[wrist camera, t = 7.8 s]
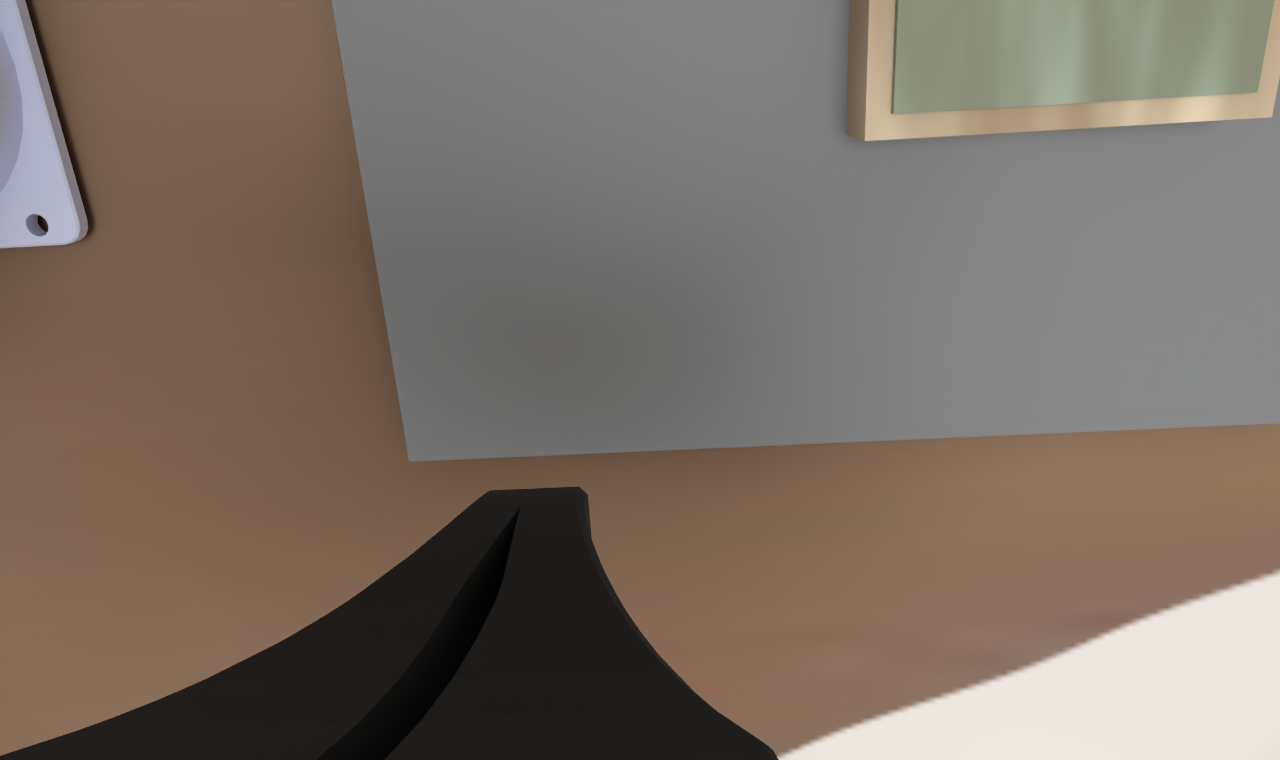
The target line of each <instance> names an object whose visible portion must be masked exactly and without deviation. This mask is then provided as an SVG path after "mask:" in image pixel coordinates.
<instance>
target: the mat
mask: <svg viewBox="0 0 1280 760" xmlns="http://www.w3.org/2000/svg"><path fill="white" fill-rule="evenodd" d="M331 1H332V7H333V13H334V19H335V25H336V31H337V37H338V43H339V48H340V54H341V60H342V66H343V72H344V78H345V84H346V90H347V96H348V102H349V108H350V114H351V120H352V126H353V132H354V137H355V143H356V149H357V155H358V161H359V167H360V173H361V179H362V185H363V191H364V197H365V203H366V209H367V215H368V221H369V226H370V232H371V238H372V244H373V250H374V256H375V262H376V268H377V274H378V280H379V286H380V292H381V298H382V304H383V310H384V315H385V321H386V327H387V333H388V339H389V345H390V351H391V357H392V363H393V369H394V375H395V381H396V387H397V393H398V399H399V404H400V410H401V416H402V422H403V428H404V434H405V440H406V446H407V452H408V458H409V462H416V461H438V460H461V459H483V458H506V457H529V456H551V455H574V454H596V453H619V452H641V451H664V450H687V449H709V448H732V447H754V446H777V445H799V444H822V443H845V442H867V441H890V440H912V439H935V438H957V437H980V436H1003V435H1025V434H1048V433H1070V432H1093V431H1115V430H1138V429H1161V428H1183V427H1206V426H1228V425H1251V424H1273V423H1280V78H1279V83H1278V88H1277V93H1276V99H1275V104H1274V109H1273V114H1272V117H1269V118H1252V119H1234V120H1217V121H1200V122H1183V123H1166V124H1149V125H1132V126H1115V127H1098V128H1080V129H1063V130H1046V131H1029V132H1012V133H995V134H978V135H961V136H944V137H926V138H909V139H892V140H875V141H863V140H860V139H857V138H854V137H851V136H848V135H846V125H847V84H848V43H849V3H850V0H331Z"/></svg>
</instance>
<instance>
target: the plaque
mask: <svg viewBox="0 0 1280 760" xmlns="http://www.w3.org/2000/svg"><path fill="white" fill-rule="evenodd" d="M1279 78H1280V0H850V3H849V43H848V84H847V125H846V135H848V136H851V137H854V138H857V139H860V140H863V141H875V140H892V139H909V138H926V137H944V136H961V135H978V134H995V133H1012V132H1029V131H1046V130H1063V129H1080V128H1098V127H1115V126H1132V125H1149V124H1166V123H1183V122H1200V121H1217V120H1234V119H1252V118H1269V117H1272V114H1273V109H1274V104H1275V99H1276V93H1277V88H1278V83H1279Z"/></svg>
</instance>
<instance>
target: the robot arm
mask: <svg viewBox="0 0 1280 760" xmlns="http://www.w3.org/2000/svg"><path fill="white" fill-rule="evenodd" d="M39 215H40V216H42V217H43V218H44V219H45V220H46V222H47V223H48V232H45V231H44V230H42V229H41V228H40V226H39V224H38V216H39ZM87 230H88V221H87V217H86V214H85V210H84V207H83V203H82V199H81V196H80V192H79V189H78V185H77V182H76V178H75V175H74V171H73V168H72V164H71V161H70V157H69V153H68V150H67V146H66V143H65V139H64V136H63V132H62V129H61V125H60V122H59V118H58V115H57V111H56V107H55V104H54V100H53V97H52V93H51V90H50V86H49V83H48V79H47V76H46V72H45V69H44V65H43V61H42V58H41V54H40V51H39V47H38V44H37V40H36V37H35V33H34V30H33V26H32V23H31V19H30V15H29V12H28V8H27V5H26V1H25V0H0V248H13V247H31V246H49V245H66V244H69V243H73V242H76V241H80V240H81V239H82V238H83V237H85V236H86V233H87ZM0 760H778V758H777V756H776V755H775V753H774V751H773V750H772V749H771V748H770V747H769V746H767V745H766V744H765V743H763V742H762V741H760V740H759V739H757V738H756V737H754V736H753V735H751V734H750V733H748V732H747V731H745V730H744V729H742V728H741V727H740V726H738V725H737V724H735V723H734V722H732V721H731V720H729V719H728V718H726V717H725V716H723V715H722V714H720V713H719V712H717V711H716V710H715V709H714V708H712V707H711V706H710V705H709V704H708V703H707V702H705V701H704V700H703V699H702V698H701V697H700V696H698V695H697V694H696V693H695V692H694V691H693V690H692V689H691V688H690V687H689V686H688V685H687V684H686V683H685V682H684V681H683V680H682V679H681V678H680V677H679V676H678V674H677V673H676V672H675V671H674V670H673V669H672V668H671V667H670V666H669V665H668V664H667V663H666V662H665V661H664V660H663V659H662V658H661V657H660V656H659V655H658V653H657V652H656V651H655V650H654V648H653V647H652V646H651V645H650V643H649V642H648V641H647V639H646V638H645V637H644V636H643V634H642V633H641V632H640V630H639V629H638V627H637V626H636V625H635V623H634V622H633V620H632V619H631V617H630V616H629V614H628V613H627V611H626V610H625V608H624V607H623V605H622V603H621V602H620V600H619V598H618V596H617V595H616V593H615V591H614V589H613V587H612V585H611V583H610V581H609V580H608V578H607V576H606V574H605V571H604V569H603V567H602V565H601V563H600V560H599V558H598V555H597V552H596V550H595V547H594V545H593V542H592V538H591V527H590V516H589V505H588V494H586V493H585V492H584V491H583V490H582V489H581V488H580V487H562V488H539V489H516V490H492V491H489V492H487V493H486V494H484V495H483V496H481V497H480V498H479V499H478V500H476V501H475V502H474V503H473V504H471V505H470V506H469V507H468V508H467V509H466V510H464V511H463V512H462V513H461V514H460V515H458V516H457V517H456V518H455V519H454V520H453V521H451V522H450V523H449V524H448V525H447V526H445V527H444V528H443V529H442V530H441V531H439V532H438V533H437V534H436V535H435V536H433V537H432V538H431V539H430V540H428V541H427V542H426V543H425V544H424V545H422V546H421V547H420V548H419V549H418V550H416V551H415V552H414V553H413V554H411V555H410V556H409V557H408V558H406V559H405V560H404V561H402V562H401V563H399V564H398V565H397V566H395V567H394V568H393V569H391V570H390V571H389V572H387V573H386V574H385V575H383V576H382V577H380V578H379V579H378V580H376V581H375V582H374V583H372V584H371V585H370V586H368V587H367V588H366V589H364V590H363V591H362V592H360V593H359V594H357V595H356V596H354V597H353V598H351V599H350V600H349V601H347V602H346V603H344V604H343V605H341V606H339V607H338V608H336V609H335V610H333V611H332V612H330V613H329V614H327V615H325V616H324V617H322V618H320V619H319V620H317V621H315V622H314V623H312V624H310V625H309V626H307V627H305V628H303V629H302V630H300V631H298V632H297V633H295V634H293V635H292V636H290V637H288V638H286V639H284V640H283V641H281V642H279V643H277V644H275V645H273V646H271V647H269V648H267V649H265V650H263V651H261V652H259V653H257V654H255V655H253V656H251V657H249V658H247V659H245V660H243V661H241V662H239V663H237V664H235V665H233V666H231V667H229V668H227V669H225V670H223V671H221V672H219V673H217V674H215V675H213V676H211V677H209V678H207V679H205V680H203V681H201V682H198V683H196V684H194V685H192V686H189V687H187V688H185V689H182V690H180V691H178V692H175V693H173V694H171V695H168V696H166V697H164V698H161V699H159V700H157V701H154V702H152V703H149V704H147V705H144V706H142V707H139V708H136V709H134V710H131V711H129V712H126V713H124V714H121V715H119V716H116V717H114V718H111V719H108V720H106V721H103V722H100V723H97V724H95V725H92V726H89V727H86V728H84V729H81V730H78V731H75V732H72V733H69V734H66V735H63V736H60V737H57V738H54V739H51V740H48V741H44V742H41V743H38V744H35V745H32V746H29V747H26V748H23V749H20V750H17V751H14V752H11V753H8V754H5V755H2V756H0Z"/></svg>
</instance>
